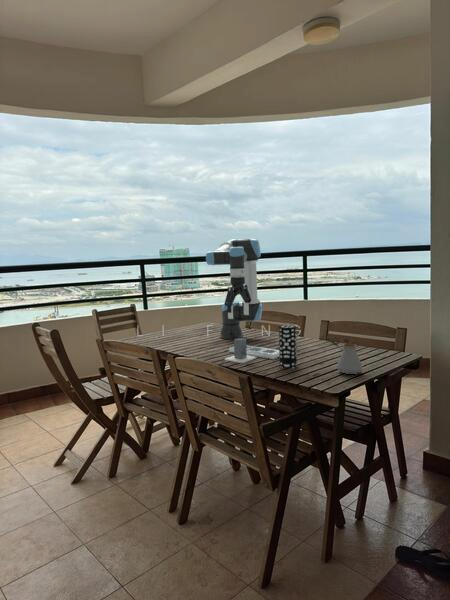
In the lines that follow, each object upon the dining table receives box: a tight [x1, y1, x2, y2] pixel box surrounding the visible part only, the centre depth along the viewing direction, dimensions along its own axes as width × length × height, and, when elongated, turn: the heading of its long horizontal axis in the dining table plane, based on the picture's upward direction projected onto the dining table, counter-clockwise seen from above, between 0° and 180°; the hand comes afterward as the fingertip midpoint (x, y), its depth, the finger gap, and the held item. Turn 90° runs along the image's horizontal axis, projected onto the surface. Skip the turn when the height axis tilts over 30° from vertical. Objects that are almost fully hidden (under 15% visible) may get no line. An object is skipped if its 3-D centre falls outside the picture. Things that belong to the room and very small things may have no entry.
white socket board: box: [228, 344, 279, 360], centre depth 232 cm, size 30×10×2 cm, turn 50°
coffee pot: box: [323, 335, 364, 374], centre depth 195 cm, size 21×12×15 cm, turn 33°
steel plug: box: [233, 337, 247, 359], centre depth 221 cm, size 5×5×10 cm
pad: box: [224, 355, 257, 364], centre depth 222 cm, size 12×12×1 cm
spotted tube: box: [278, 324, 298, 369], centre depth 204 cm, size 8×8×20 cm
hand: (238, 316), depth 221 cm, fingers open, 13 cm apart
